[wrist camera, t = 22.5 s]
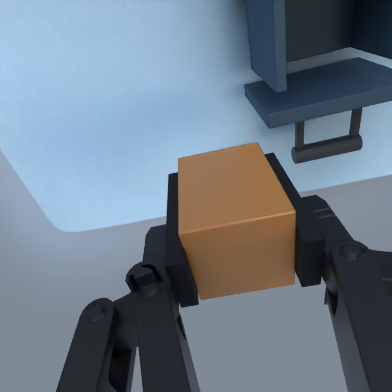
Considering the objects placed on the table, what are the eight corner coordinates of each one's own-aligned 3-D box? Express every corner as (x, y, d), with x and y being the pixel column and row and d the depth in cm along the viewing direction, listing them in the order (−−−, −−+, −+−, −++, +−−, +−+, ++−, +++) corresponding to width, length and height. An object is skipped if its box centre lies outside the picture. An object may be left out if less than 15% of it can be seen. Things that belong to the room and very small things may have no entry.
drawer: (350, 117, 31) (403, 153, 24) (250, 140, 32) (272, 181, 25) (380, -124, 20) (492, -188, 13) (226, -80, 21) (253, -117, 14)
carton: (193, 217, 18) (200, 301, 13) (177, 157, 15) (177, 234, 10) (262, 204, 17) (295, 285, 12) (257, 140, 15) (296, 211, 10)
